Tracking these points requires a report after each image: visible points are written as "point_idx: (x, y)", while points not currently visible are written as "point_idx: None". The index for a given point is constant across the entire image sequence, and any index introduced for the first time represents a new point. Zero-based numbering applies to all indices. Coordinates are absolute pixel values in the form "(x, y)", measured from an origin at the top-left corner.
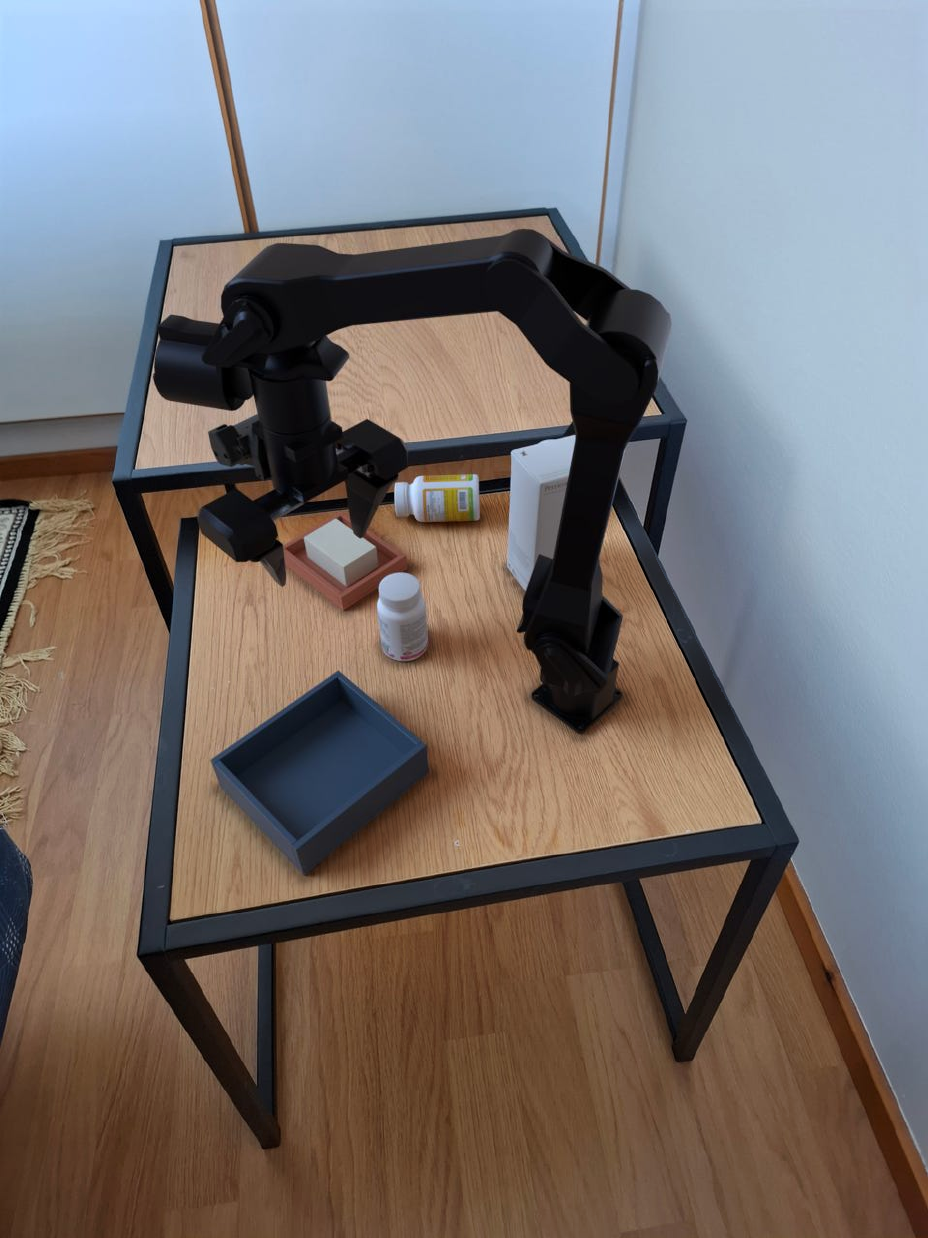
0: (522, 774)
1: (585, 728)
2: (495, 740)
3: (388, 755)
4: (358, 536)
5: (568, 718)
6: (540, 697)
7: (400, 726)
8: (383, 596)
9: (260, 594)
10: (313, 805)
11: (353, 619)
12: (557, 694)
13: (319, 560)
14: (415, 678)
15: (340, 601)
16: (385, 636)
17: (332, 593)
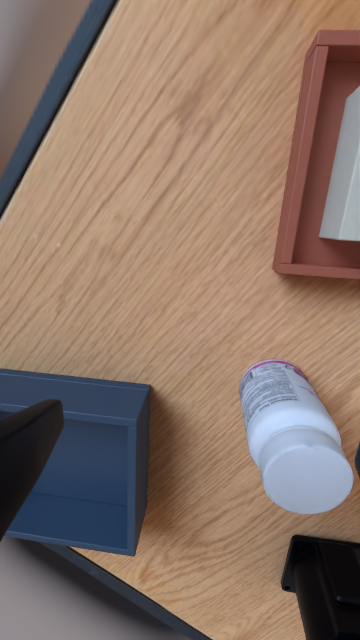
0: (206, 562)
1: (288, 591)
2: (222, 530)
3: (125, 479)
4: (357, 460)
5: (289, 576)
6: (297, 548)
7: (130, 526)
8: (263, 474)
9: (210, 111)
10: None
11: (267, 294)
12: (299, 595)
13: (343, 146)
14: (234, 428)
15: (276, 267)
16: (243, 409)
17: (281, 246)
